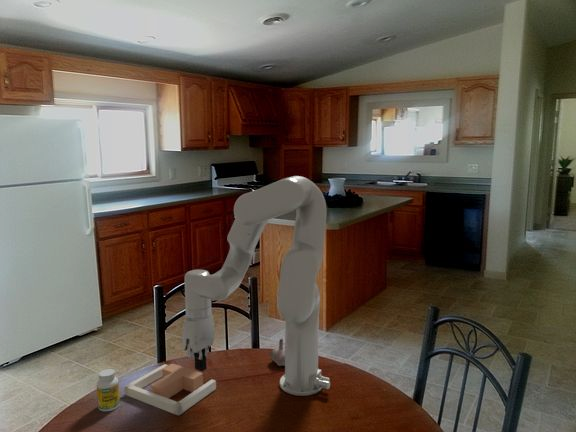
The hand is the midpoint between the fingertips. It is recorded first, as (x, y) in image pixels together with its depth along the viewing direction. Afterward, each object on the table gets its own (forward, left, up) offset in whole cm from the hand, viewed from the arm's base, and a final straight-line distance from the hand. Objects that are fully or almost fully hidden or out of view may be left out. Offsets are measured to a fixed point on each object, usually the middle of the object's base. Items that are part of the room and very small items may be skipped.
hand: (200, 369), depth 135 cm
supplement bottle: (+9, +26, -1) cm, 27 cm away
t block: (0, +12, -1) cm, 12 cm away
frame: (0, +13, -1) cm, 13 cm away
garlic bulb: (-18, -18, -2) cm, 26 cm away
